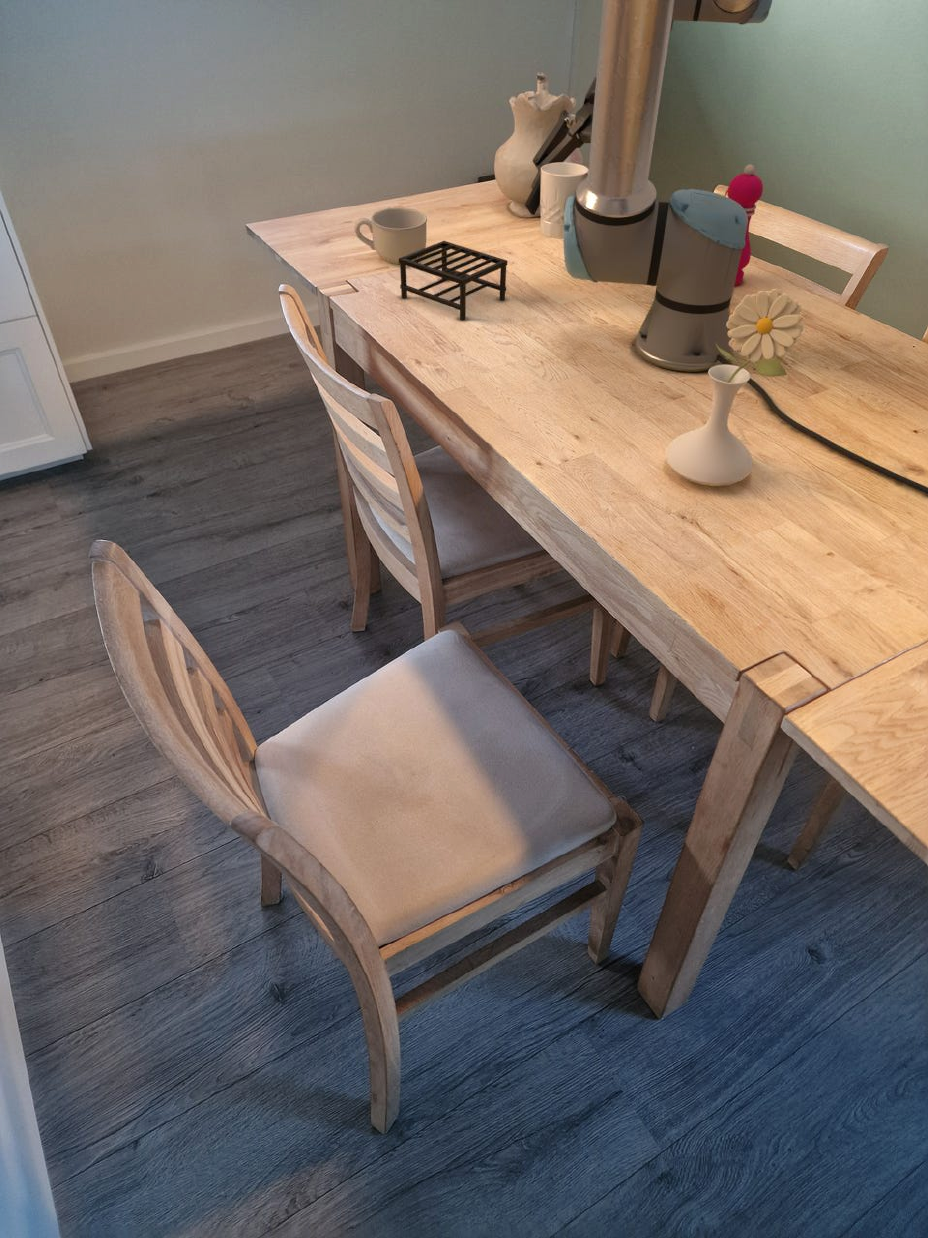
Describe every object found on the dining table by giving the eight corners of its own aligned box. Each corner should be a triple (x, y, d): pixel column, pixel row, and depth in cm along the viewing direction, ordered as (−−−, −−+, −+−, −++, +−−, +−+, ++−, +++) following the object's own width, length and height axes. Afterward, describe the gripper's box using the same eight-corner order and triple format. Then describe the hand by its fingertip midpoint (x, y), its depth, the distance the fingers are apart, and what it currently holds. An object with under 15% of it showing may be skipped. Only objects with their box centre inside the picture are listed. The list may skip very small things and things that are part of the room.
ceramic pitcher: (486, 198, 197) (480, 75, 179) (566, 187, 198) (568, 64, 181) (505, 230, 181) (501, 99, 164) (592, 218, 183) (597, 86, 165)
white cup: (530, 226, 146) (534, 163, 139) (571, 222, 148) (577, 160, 141) (546, 242, 141) (551, 177, 134) (589, 237, 142) (596, 173, 136)
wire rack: (506, 299, 151) (507, 260, 147) (463, 320, 145) (463, 280, 140) (444, 278, 158) (443, 240, 154) (400, 297, 152) (398, 258, 147)
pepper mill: (752, 284, 157) (780, 168, 144) (720, 289, 155) (745, 172, 142) (730, 270, 162) (755, 156, 149) (698, 275, 160) (721, 160, 147)
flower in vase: (645, 469, 111) (680, 280, 94) (694, 437, 117) (735, 255, 100) (730, 510, 105) (784, 316, 87) (777, 475, 110) (837, 286, 93)
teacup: (431, 249, 169) (430, 207, 164) (424, 270, 161) (422, 226, 156) (363, 246, 170) (360, 205, 165) (353, 266, 162) (349, 223, 157)
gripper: (674, 113, 136) (607, 241, 138) (571, 94, 146) (510, 214, 148) (663, 80, 130) (593, 215, 132) (556, 62, 139) (492, 189, 141)
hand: (549, 215), depth 140 cm, fingers closed on white cup, 8 cm apart
